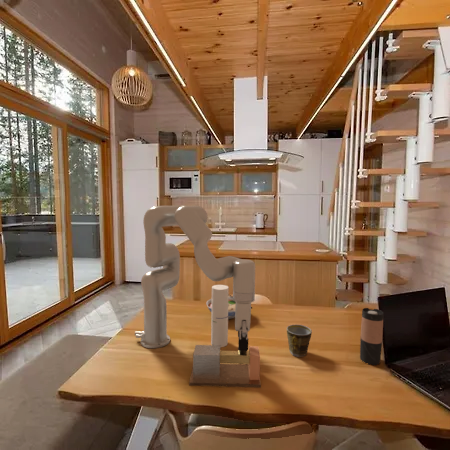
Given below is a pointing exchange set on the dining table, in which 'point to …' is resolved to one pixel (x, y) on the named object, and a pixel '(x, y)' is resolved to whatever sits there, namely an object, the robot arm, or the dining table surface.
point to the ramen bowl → (230, 307)
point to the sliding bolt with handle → (235, 356)
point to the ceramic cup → (298, 339)
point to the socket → (254, 363)
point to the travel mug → (371, 336)
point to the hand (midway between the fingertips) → (242, 343)
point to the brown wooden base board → (218, 370)
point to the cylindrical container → (219, 315)
